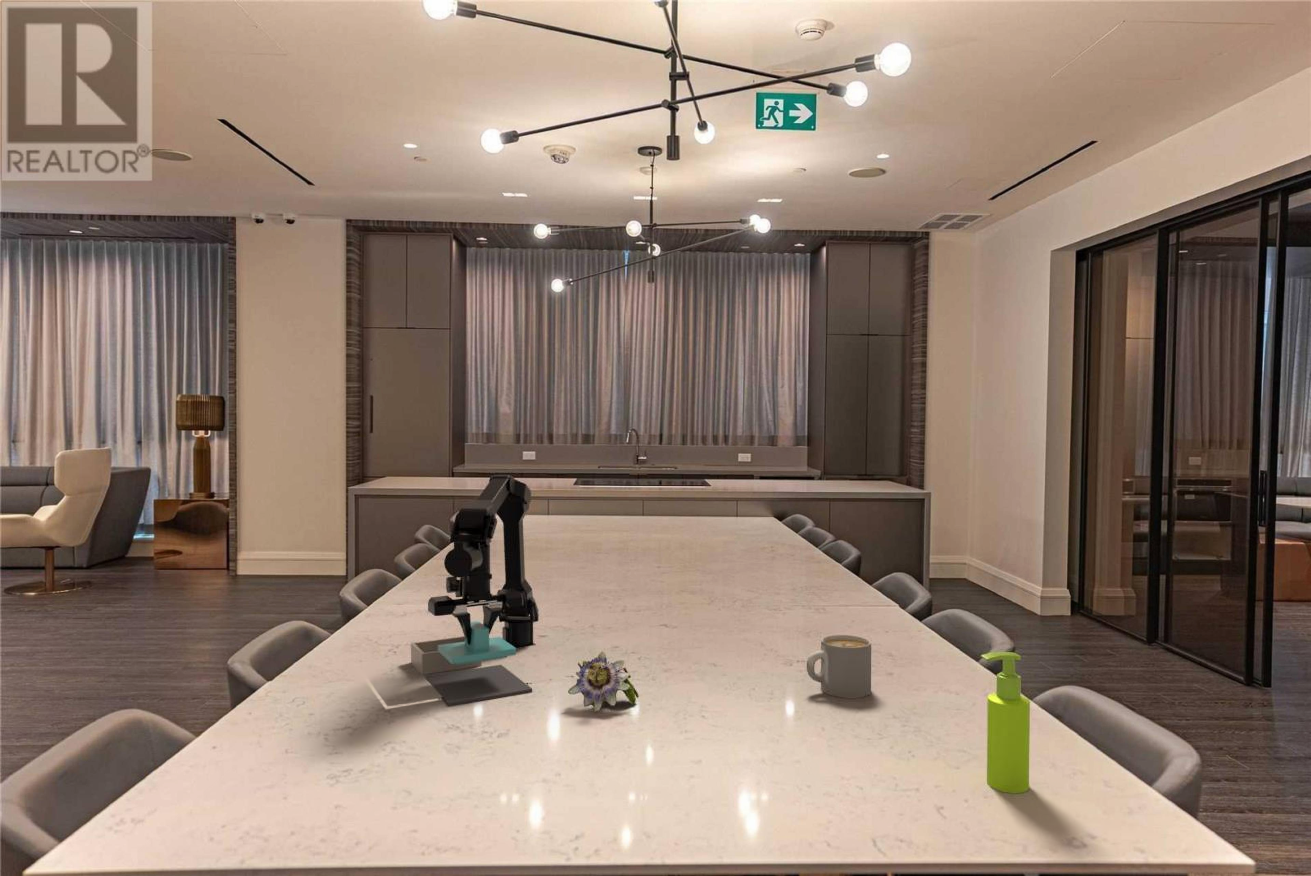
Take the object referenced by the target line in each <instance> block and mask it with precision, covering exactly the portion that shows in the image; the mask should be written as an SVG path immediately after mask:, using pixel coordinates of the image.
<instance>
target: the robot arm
mask: <svg viewBox="0 0 1311 876" xmlns="http://www.w3.org/2000/svg"><path fill="white" fill-rule="evenodd" d="M531 501H532V492H531V489H530V488H529V486H528V485H527V484H526V483H525V482H522V481H519V480H517V479H516V478H515V477H514V476H512V475H510V474H494V475H491V476H490V478H489V481H488V483H487V485H486V486H485V487H484V489H483V490H482V492H481V493H480V495H478V498H477V499H476V500H475V501H472V502H467V503H466V504H465V505H463V506H461V508H459V510H458V512H457V513H456V515H455V519H454V522H453V527H452V531H451V534H450V537H449V538H450V539H449V543H451V544H453V548H452V549H451V550H449V551H448V552H447V554H445V555H446V556H445V557H444V559H443V561H444V563H443V564H444V568H445V570H446V572H447V573H448V574H449V575H451V576H447V577H446V578H445V587H446V588H445V589H446V590H445V591H446V593H447V594H452V593H454V594H455V599H453V598H451V597H450V596H448V595H441V596H439V595H438V596H431V597H430V598H429V599H428V601H427V611H428V612H429V613H430V614H432V615H433V616H435V617H441V616H449V615H450V616H451V615H452V616H453V617H454V618H456V620H457V621H458V623H459V624H460V627H461V630H462V633H463V636H465V639H466V642H467V644H468V645H470V643H471V622H472V621H471V613H470V612H468V608H472V607H473V608H474V607H481V606H482V612H483V613H482V614H483V621H482V622H483V623H482V624H483V625H485V626H486V627H487V628H489V635H490V634H491V632H492V629H493V627H494V624H495V623H496V622H497V619H498V621H499V623H503V622H504V624H503V625H504V626H502V629H501V631H502V634H501V635H502V637H501V638H502V639H504V640H505V641H506V642H508V643H509V644H511V645H512V646H514V647H515V648H516V649H518V648H526V647H532V646H537V644H536V643H535V642H534V623H536V622H539V613H540V612H539V607H538V605H537V602H536V599H535V597H534V596H533V595H534V594H533V588H532V587H531V585H530V584H529V582H528V580H527V579H526V573H525V572H526V571H525V570H526V568H525V544H524V543H525V542H524V540H525V539H524V518H525V516H526V515H527V513H528V511H529V510H530V503H531ZM496 515H497V516H496ZM497 517H499V519H500V520H501V522H502V526H503V527H502V529H503V552H504V554H503V555H504V575H505V578H504V579H505V582H504V584H503V586H502V587H501V589H498V590H497V593H496V594H493V593H491V580H492V579H493V574H492V573H491V543H492V540H493V538H494V534H495V531H496V528H497V524H498V519H497ZM458 578H459V579H458Z"/></svg>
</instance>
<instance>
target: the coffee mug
mask: <svg viewBox="0 0 1311 876" xmlns="http://www.w3.org/2000/svg"><path fill="white" fill-rule="evenodd" d="M818 660H820V671H819V672H818V673H816V671H815V665H816V662H817V661H818ZM806 672H807V675H808V676H809V677H810V679H812V680H813V681H815V682H818V683H820V689H821V691H822V692H824V693H825V694H828V695H830V696H833V697H837V698H847V699H851V698H852V699H857V698H863V697H866V696H869V695H870V694H871V693H872V641H871V640H870V639H868V638H866V637H862V636H859V635H854V634H853V635H852V634H830V635H827V636H824V637H822V638H821V642H820V650H818V651H814V652H812V653H810V654H809V656H808V657H807V660H806Z"/></svg>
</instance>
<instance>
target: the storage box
mask: <svg viewBox="0 0 1311 876" xmlns="http://www.w3.org/2000/svg"><path fill="white" fill-rule="evenodd" d="M458 642H465V636H464V635H462V636H455V637H447V638H438V639H432V640H423V641H417V642H416V641H415V642H410V664H412V666H414V667H415V669H416V670H417V671H418V672H419V673H420V674H421V675H424V676H425V675H429V674H430V675H431V674H437V673H444V672H451V671H458V670H465V669H471V668H476V667H477V668H478V667H481V666H482V661H479V662H473V663H466V664H460V665H457V664H456V663H455V664H451V663H450V662H449V661H448V660H447V659H446V658H445V657H444V656H443V655H442V654H441V653H439V652H438V645H443V644H451V643H458Z"/></svg>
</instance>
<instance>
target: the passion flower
mask: <svg viewBox="0 0 1311 876" xmlns="http://www.w3.org/2000/svg"><path fill="white" fill-rule="evenodd" d="M577 665H578V667H579V669H580V670H579V671H576V672H575V675H576V676H577V677H578V679H576V684H574V685H572V687H570V688H569V689H568V691H567V693H568V694H569V695H576V694H579V693H580V694H581V695H582V696H583V707H589V706H592V707H593V711H595V712H594V713H598V712H599V711H600V710H601V708H602V706H603V702H605V701H606V702H607V704H608V705H609V706H612V707H615V705H616V703H617V693H618V691H622V692H623V693H624V695H625V696H626V698H627V699H628V701H629V703H630V705H632V706H634V705H636V701H637V699H638V698H639V697H640V695H639V692H638V691H637V690H636V688H635V687H634V685H633V683H631V681H630V679H631V678H632V676H631V674H630V672H629V671H628V669H627V667H624V666H625V660H624V659H621V660H617V661H614V662H610V661H608V657H607V654H606V652H604V650H603V651H600V653H598V655H597V657H594V659H592V658H591V660H583V661H582V664H581V663H580V662H578V663H577ZM597 711H598V712H597Z"/></svg>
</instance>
